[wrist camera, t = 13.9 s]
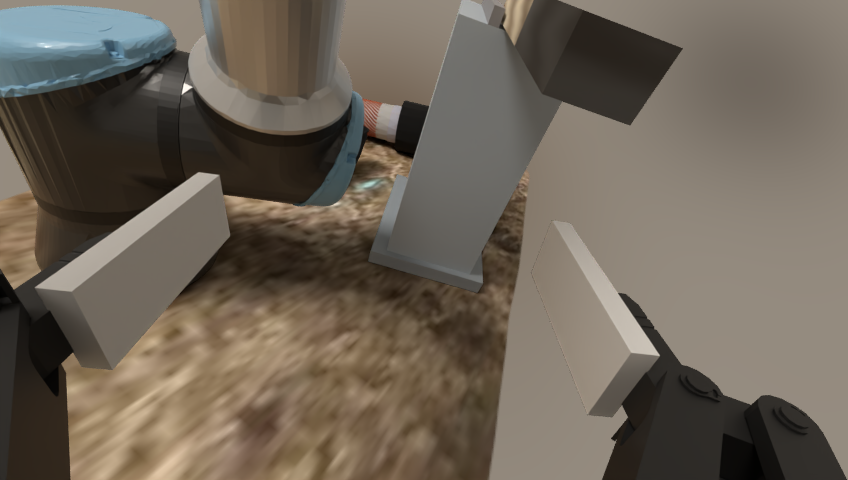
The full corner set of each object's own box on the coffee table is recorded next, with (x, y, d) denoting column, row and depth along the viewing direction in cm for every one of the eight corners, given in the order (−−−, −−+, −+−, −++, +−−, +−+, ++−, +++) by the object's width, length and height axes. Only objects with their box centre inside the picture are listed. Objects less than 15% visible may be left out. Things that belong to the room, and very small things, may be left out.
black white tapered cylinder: (296, 127, 81) (303, 80, 79) (441, 161, 80) (452, 116, 79) (276, 120, 71) (284, 67, 69) (441, 159, 70) (453, 107, 69)
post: (477, 292, 50) (618, 52, 30) (367, 261, 48) (441, -15, 29) (475, 208, 67) (564, 20, 48) (394, 183, 66) (452, -22, 46)
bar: (630, 125, 15) (682, 48, 13) (542, 94, 14) (583, 10, 12) (536, 32, 35) (551, -2, 33) (499, 19, 35) (512, -18, 33)
